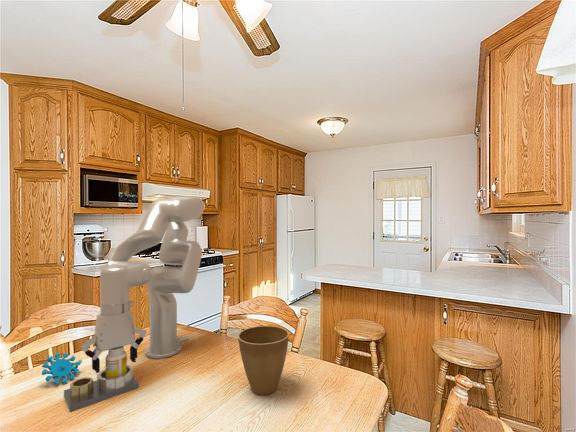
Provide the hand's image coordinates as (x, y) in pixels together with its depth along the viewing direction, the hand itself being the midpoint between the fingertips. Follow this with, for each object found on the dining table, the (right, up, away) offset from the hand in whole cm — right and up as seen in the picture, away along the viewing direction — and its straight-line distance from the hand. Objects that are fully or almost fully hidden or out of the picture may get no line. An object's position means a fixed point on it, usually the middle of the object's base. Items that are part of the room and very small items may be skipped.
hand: (115, 365), depth 95 cm
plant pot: (+44, -6, -1) cm, 44 cm away
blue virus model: (-19, -7, +5) cm, 20 cm away
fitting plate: (-3, -6, -2) cm, 7 cm away
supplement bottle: (0, -5, 0) cm, 5 cm away
